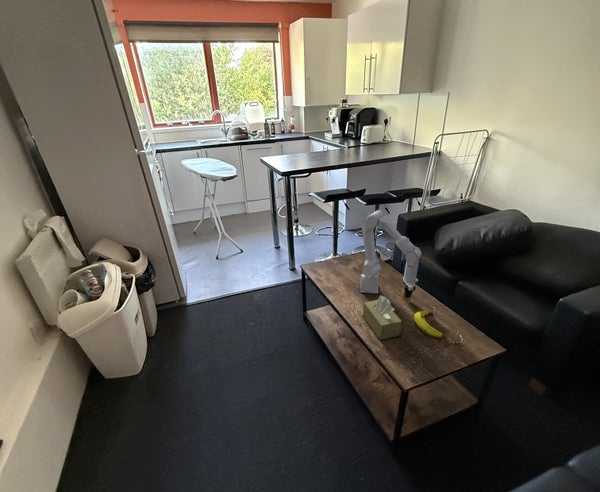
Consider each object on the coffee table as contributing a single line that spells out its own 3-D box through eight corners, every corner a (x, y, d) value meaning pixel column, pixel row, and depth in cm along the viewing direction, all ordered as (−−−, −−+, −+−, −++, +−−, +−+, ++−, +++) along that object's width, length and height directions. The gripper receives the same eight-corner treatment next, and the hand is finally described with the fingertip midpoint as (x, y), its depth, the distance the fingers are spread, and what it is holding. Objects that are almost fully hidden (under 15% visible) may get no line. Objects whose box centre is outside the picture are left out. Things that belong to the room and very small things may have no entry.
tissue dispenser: (400, 336, 141) (405, 307, 133) (380, 340, 139) (383, 311, 131) (380, 311, 157) (383, 284, 149) (362, 315, 155) (364, 288, 147)
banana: (436, 334, 135) (459, 327, 142) (407, 311, 148) (429, 306, 155) (433, 343, 137) (455, 335, 144) (404, 319, 150) (426, 313, 157)
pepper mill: (402, 300, 162) (404, 286, 158) (401, 295, 166) (403, 281, 162) (411, 301, 161) (414, 287, 157) (410, 296, 165) (412, 282, 161)
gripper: (421, 279, 149) (417, 303, 156) (417, 265, 161) (413, 287, 168) (405, 278, 150) (402, 302, 157) (402, 264, 162) (399, 286, 169)
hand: (407, 294), depth 162 cm, fingers closed on pepper mill, 4 cm apart
